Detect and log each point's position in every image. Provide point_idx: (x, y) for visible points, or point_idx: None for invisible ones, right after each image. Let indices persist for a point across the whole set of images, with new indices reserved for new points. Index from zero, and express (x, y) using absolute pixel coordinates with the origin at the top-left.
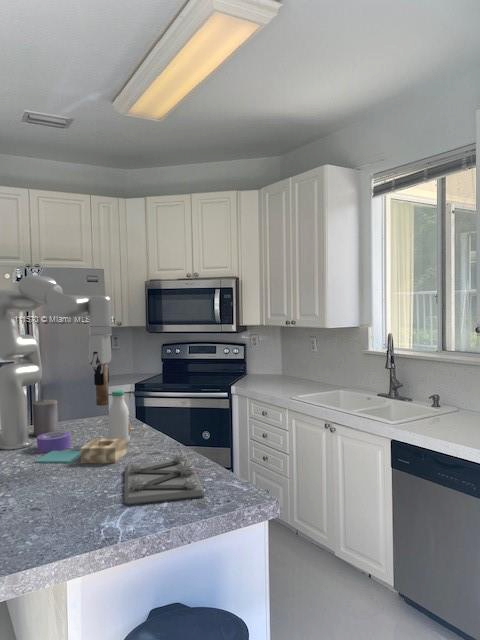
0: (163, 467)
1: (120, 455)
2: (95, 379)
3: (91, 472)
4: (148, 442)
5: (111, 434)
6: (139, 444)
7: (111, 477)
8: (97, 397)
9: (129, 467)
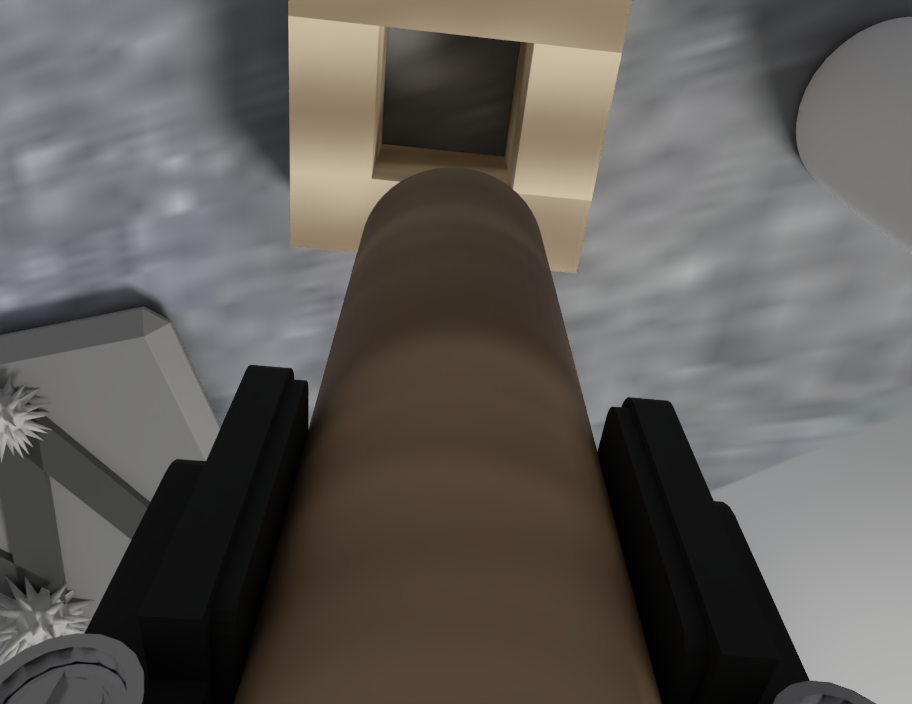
0: (111, 519)
1: None
2: (210, 484)
3: (93, 81)
4: (798, 330)
5: (867, 71)
6: (763, 278)
7: (23, 245)
8: (361, 257)
9: (90, 355)
